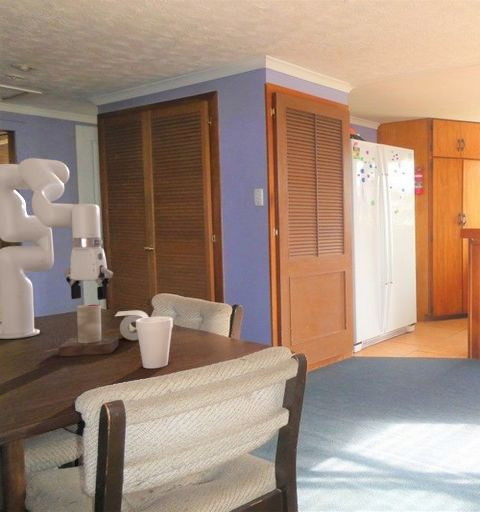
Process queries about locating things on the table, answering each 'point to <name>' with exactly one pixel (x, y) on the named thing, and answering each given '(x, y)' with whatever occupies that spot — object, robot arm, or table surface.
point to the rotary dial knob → (89, 323)
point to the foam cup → (154, 340)
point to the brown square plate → (88, 346)
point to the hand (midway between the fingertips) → (89, 298)
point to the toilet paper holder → (126, 326)
